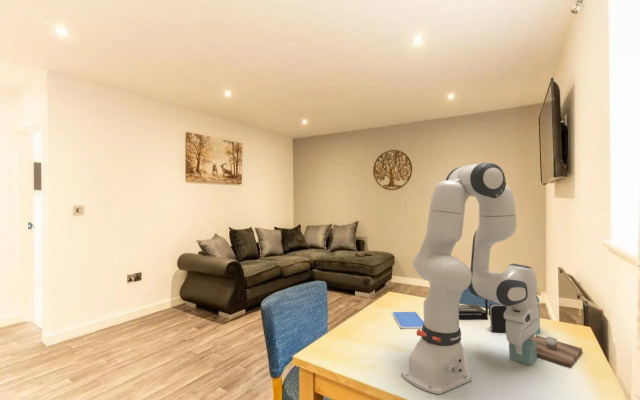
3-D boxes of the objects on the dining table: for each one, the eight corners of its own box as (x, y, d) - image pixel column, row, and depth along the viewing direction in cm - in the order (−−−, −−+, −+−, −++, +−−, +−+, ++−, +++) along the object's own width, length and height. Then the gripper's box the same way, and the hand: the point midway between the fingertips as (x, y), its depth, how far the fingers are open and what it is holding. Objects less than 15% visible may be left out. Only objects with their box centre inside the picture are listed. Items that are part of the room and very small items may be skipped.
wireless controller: (454, 322, 139) (453, 285, 139) (443, 311, 153) (442, 278, 153) (498, 322, 138) (497, 285, 138) (483, 311, 152) (482, 277, 152)
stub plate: (570, 368, 99) (569, 353, 99) (521, 352, 110) (521, 338, 110) (582, 352, 109) (581, 338, 109) (536, 339, 120) (536, 326, 120)
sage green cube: (530, 365, 101) (530, 348, 101) (509, 358, 106) (508, 341, 106) (536, 359, 105) (536, 342, 105) (516, 352, 110) (515, 336, 110)
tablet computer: (391, 314, 152) (391, 311, 152) (416, 313, 151) (416, 311, 151) (400, 330, 132) (400, 327, 132) (429, 329, 132) (429, 326, 132)
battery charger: (504, 329, 130) (503, 302, 130) (509, 332, 126) (508, 305, 126) (487, 328, 130) (487, 302, 130) (492, 332, 127) (491, 305, 127)
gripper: (523, 300, 114) (525, 336, 114) (501, 315, 102) (503, 355, 102) (543, 304, 109) (545, 342, 109) (522, 320, 97) (524, 363, 97)
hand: (525, 349), depth 105 cm, fingers open, 8 cm apart
